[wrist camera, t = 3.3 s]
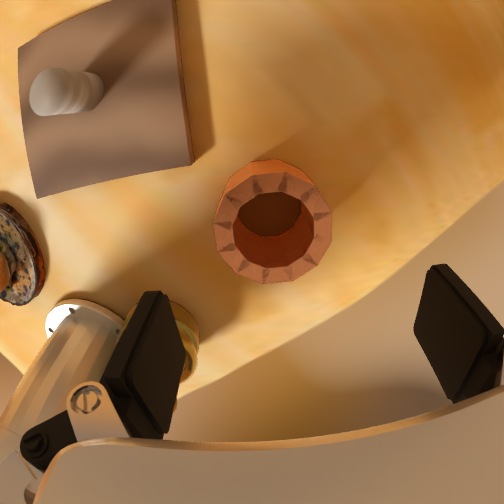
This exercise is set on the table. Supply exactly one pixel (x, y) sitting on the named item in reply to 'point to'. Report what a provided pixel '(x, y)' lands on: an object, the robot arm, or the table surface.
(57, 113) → the post stand
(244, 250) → the ring
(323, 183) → the table surface
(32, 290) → the burger
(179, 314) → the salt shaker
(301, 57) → the table surface
